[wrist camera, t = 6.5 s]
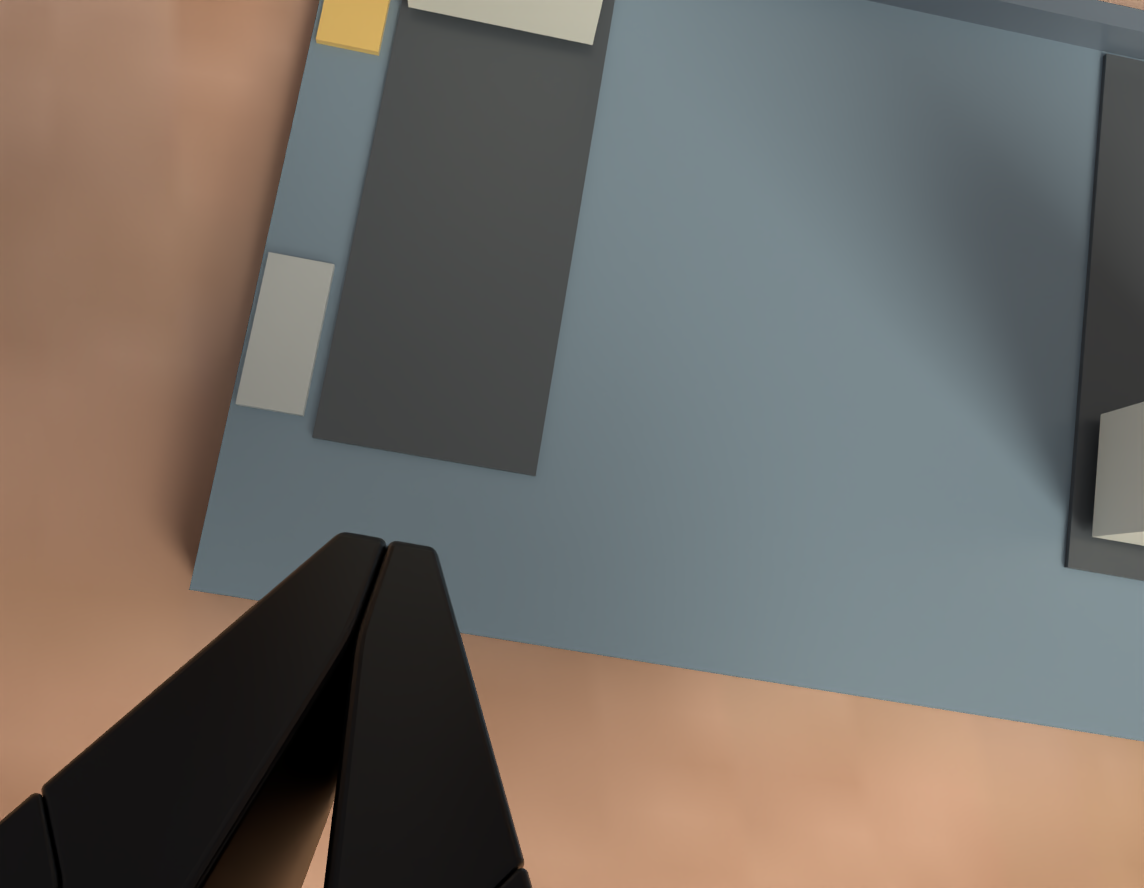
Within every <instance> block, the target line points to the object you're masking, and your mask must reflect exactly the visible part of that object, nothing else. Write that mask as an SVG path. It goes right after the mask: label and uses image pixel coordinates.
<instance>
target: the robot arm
mask: <svg viewBox="0 0 1144 888" xmlns="http://www.w3.org/2000/svg"><path fill="white" fill-rule="evenodd" d="M42 796H43V797H42ZM333 801H334V806H333V815H332V823H331V831H330V840H329V848H328V856H327V865H326V873H325V881H324V888H532V885H531V882H530V878H529V875H528V872H527V870H525V869H523V866H524V859H523V855H522V851H521V848H520V844H519V841H518V837H517V834H516V830H515V827H514V823H513V819H512V816H511V812H510V809H509V805H508V802H507V798H506V795H505V791H504V787H503V784H502V780H501V777H500V773H499V770H498V766H497V763H496V759H495V755H494V752H493V748H492V745H491V741H490V738H489V734H488V731H487V727H486V723H485V720H484V716H483V713H482V709H481V706H480V702H479V699H478V695H477V691H476V688H475V684H474V681H473V677H472V674H471V670H470V667H469V663H468V659H467V656H466V652H465V649H464V645H463V642H462V638H461V635H460V631H459V627H458V624H457V620H456V617H455V613H454V610H453V606H452V603H451V599H450V595H449V592H448V588H447V585H446V581H445V578H444V574H443V570H442V567H441V563H440V560H439V556H438V554H437V552H436V550H435V549H433V548H432V547H429V546H424V545H418V544H413V543H407V542H401V541H393V542H391V543H390V544H389V545H388V546H387V545H386V542H385V541H384V540H383V539H382V538H378V537H373V536H367V535H361V534H356V533H350V532H342V533H339V534H337V535H335V536H334V537H333V538H332V539H331V540H329V541H328V542H327V543H326V544H325V545H324V546H322V547H321V548H320V549H319V550H318V551H317V552H315V553H314V554H313V555H312V556H311V557H310V558H308V559H307V560H306V561H305V562H304V563H303V564H301V565H300V566H299V567H298V568H297V569H296V570H294V571H293V572H292V573H291V574H290V575H289V576H287V577H286V578H285V579H284V580H283V581H282V582H280V583H279V584H278V585H277V586H276V587H275V588H273V589H272V590H271V591H270V592H269V593H268V594H266V595H265V596H264V597H263V598H262V599H261V600H259V601H258V602H257V603H256V604H255V605H254V606H252V607H251V608H250V609H249V610H248V611H246V612H245V613H244V614H243V615H242V616H241V617H239V618H238V619H237V620H236V621H235V622H234V623H232V624H231V625H230V626H229V627H228V628H227V629H225V630H224V631H223V632H222V633H221V634H220V635H218V636H217V637H216V638H215V639H214V640H213V641H211V642H210V643H209V644H208V645H207V646H206V647H204V648H203V649H202V650H201V651H200V652H199V653H197V654H196V655H195V656H194V657H193V658H192V659H190V660H189V661H188V662H187V663H186V664H185V665H183V666H182V667H181V668H180V669H179V670H178V671H176V672H175V673H174V674H173V675H172V676H171V677H169V678H168V679H167V680H166V681H165V682H164V683H162V684H161V685H160V686H159V687H158V688H157V689H155V690H154V691H153V692H152V693H151V694H149V695H148V696H147V697H146V698H145V699H144V700H142V701H141V702H140V703H139V704H138V705H137V706H135V707H134V708H133V709H132V710H131V711H130V712H128V713H127V714H126V715H125V716H124V717H123V718H121V719H120V720H119V721H118V722H117V723H116V724H114V725H113V726H112V727H111V728H110V729H109V730H107V731H106V732H105V733H104V734H103V735H102V736H100V737H99V738H98V739H97V740H96V741H95V742H93V743H92V744H91V745H90V746H89V747H88V748H86V749H85V750H84V751H83V752H82V753H80V754H79V755H78V756H77V757H76V758H75V759H73V760H72V761H71V762H70V763H69V764H68V765H66V766H65V767H64V768H63V769H62V770H61V771H59V772H58V773H57V774H56V775H55V776H54V777H52V778H51V779H50V780H49V781H48V782H47V783H45V784H44V785H43V787H42V795H41V794H38V793H34V794H32V795H30V796H29V797H28V798H27V799H26V800H25V801H24V802H22V803H21V804H20V805H19V806H18V807H17V808H15V809H14V810H13V811H12V812H11V813H10V814H9V815H7V816H6V817H5V818H4V819H3V820H2V821H0V888H301V887H302V885H303V882H304V879H305V877H306V874H307V871H308V869H309V866H310V863H311V861H312V858H313V855H314V853H315V850H316V847H317V845H318V842H319V839H320V837H321V834H322V831H323V829H324V826H325V823H326V821H327V818H328V815H329V813H330V810H331V807H332V804H333Z"/></svg>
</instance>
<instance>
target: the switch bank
mask: <svg viewBox="0 0 1144 888" xmlns="http://www.w3.org/2000/svg"><path fill="white" fill-rule="evenodd" d="M1141 402H1144V10H1139V9H1135V8H1130V7H1126V6H1121V5H1117V4H1112V3H1107V2H1103V1H1098V0H603V2H602V6H601V11H600V15H599V19H598V24H597V28H596V32H595V37H594V41H593V45H589V44H585V43H580V42H575V41H570V40H565V39H560V38H556V37H551V36H546V35H541V34H536V33H531V32H527V31H522V30H517V29H512V28H507V27H502V26H498V25H493V24H488V23H483V22H478V21H473V20H469V19H464V18H459V17H454V16H449V15H444V14H440V13H435V12H430V11H425V10H420V9H415V8H411V7H408V0H320V1H319V6H318V10H317V15H316V19H315V24H314V28H313V33H312V37H311V42H310V46H309V51H308V55H307V60H306V64H305V69H304V73H303V78H302V82H301V87H300V91H299V96H298V101H297V105H296V110H295V114H294V119H293V123H292V128H291V132H290V137H289V141H288V146H287V150H286V155H285V159H284V164H283V168H282V173H281V177H280V182H279V186H278V191H277V196H276V200H275V205H274V209H273V214H272V218H271V223H270V227H269V232H268V236H267V241H266V245H265V250H264V254H263V259H262V263H261V268H260V272H259V277H258V281H257V286H256V291H255V295H254V300H253V304H252V309H251V313H250V318H249V322H248V327H247V331H246V336H245V340H244V345H243V349H242V354H241V358H240V363H239V367H238V372H237V376H236V381H235V385H234V390H233V395H232V399H231V404H230V408H229V413H228V417H227V422H226V426H225V431H224V435H223V440H222V444H221V449H220V453H219V458H218V462H217V467H216V471H215V476H214V480H213V485H212V490H211V494H210V499H209V503H208V508H207V512H206V517H205V521H204V526H203V530H202V535H201V539H200V544H199V548H198V553H197V557H196V562H195V566H194V571H193V575H192V580H191V584H190V589H189V590H194V591H201V592H207V593H213V594H220V595H226V596H232V597H239V598H245V599H251V600H257V601H259V600H261V599H262V598H263V597H264V596H265V595H266V594H268V593H269V592H270V591H271V590H272V589H273V588H275V587H276V586H277V585H278V584H279V583H280V582H282V581H283V580H284V579H285V578H286V577H287V576H289V575H290V574H291V573H292V572H293V571H294V570H296V569H297V568H298V567H299V566H300V565H301V564H303V563H304V562H305V561H306V560H307V559H308V558H310V557H311V556H312V555H313V554H314V553H315V552H317V551H318V550H319V549H320V548H321V547H322V546H324V545H325V544H326V543H327V542H328V541H329V540H331V539H332V538H333V537H334V536H335V535H337V534H339V533H342V532H350V533H356V534H361V535H367V536H373V537H378V538H382V539H383V540H384V541H385V542H386V545H387V546H388V545H389V544H390V543H391V542H393V541H401V542H407V543H413V544H418V545H424V546H429V547H432V548H433V549H435V550H436V552H437V554H438V556H439V560H440V563H441V567H442V570H443V574H444V578H445V581H446V585H447V588H448V592H449V595H450V599H451V603H452V606H453V610H454V613H455V617H456V620H457V624H458V627H459V631H460V633H465V634H471V635H478V636H484V637H490V638H496V639H503V640H509V641H515V642H522V643H528V644H534V645H541V646H547V647H553V648H559V649H566V650H572V651H578V652H585V653H591V654H597V655H603V656H610V657H616V658H622V659H629V660H635V661H641V662H647V663H654V664H660V665H666V666H673V667H679V668H685V669H692V670H698V671H704V672H710V673H717V674H723V675H729V676H736V677H742V678H748V679H754V680H761V681H767V682H773V683H780V684H786V685H792V686H798V687H805V688H811V689H817V690H824V691H830V692H836V693H843V694H849V695H855V696H861V697H868V698H874V699H880V700H887V701H893V702H899V703H905V704H912V705H918V706H924V707H931V708H937V709H943V710H949V711H956V712H962V713H968V714H975V715H981V716H987V717H994V718H1000V719H1006V720H1012V721H1019V722H1025V723H1031V724H1038V725H1044V726H1050V727H1056V728H1063V729H1069V730H1075V731H1082V732H1088V733H1094V734H1100V735H1107V736H1113V737H1119V738H1126V739H1132V740H1138V741H1144V546H1142V545H1136V544H1130V543H1125V542H1119V541H1113V540H1108V539H1102V538H1096V537H1092V529H1093V515H1094V501H1095V487H1096V473H1097V459H1098V445H1099V432H1100V418H1101V414H1104V413H1107V412H1110V411H1114V410H1117V409H1121V408H1124V407H1127V406H1131V405H1134V404H1138V403H1141Z"/></svg>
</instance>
